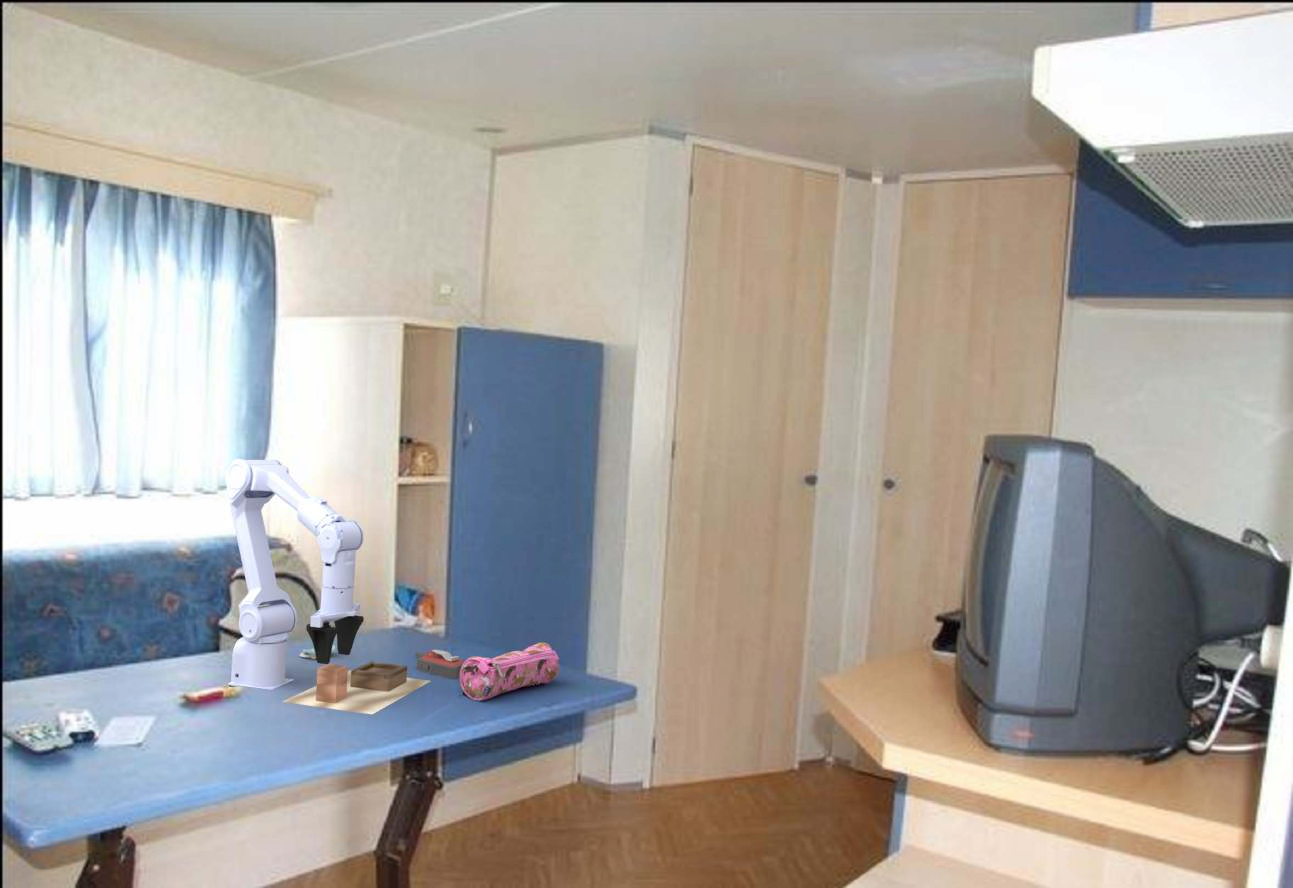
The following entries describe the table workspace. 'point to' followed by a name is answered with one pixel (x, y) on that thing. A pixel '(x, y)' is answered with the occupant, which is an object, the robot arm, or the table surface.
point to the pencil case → (508, 671)
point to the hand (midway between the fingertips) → (333, 658)
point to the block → (331, 683)
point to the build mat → (367, 689)
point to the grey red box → (439, 664)
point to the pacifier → (311, 653)
